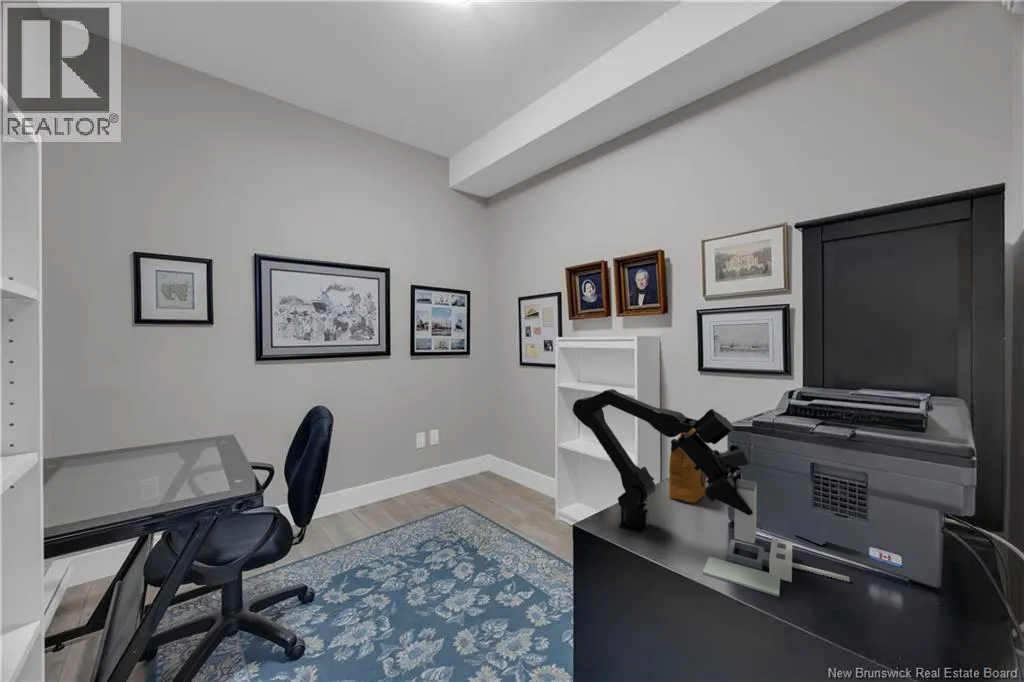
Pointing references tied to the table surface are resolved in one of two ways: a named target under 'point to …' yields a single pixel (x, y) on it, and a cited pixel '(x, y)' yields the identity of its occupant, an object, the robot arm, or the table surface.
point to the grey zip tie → (773, 559)
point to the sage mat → (743, 576)
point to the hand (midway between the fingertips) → (752, 509)
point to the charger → (742, 521)
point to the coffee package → (685, 477)
